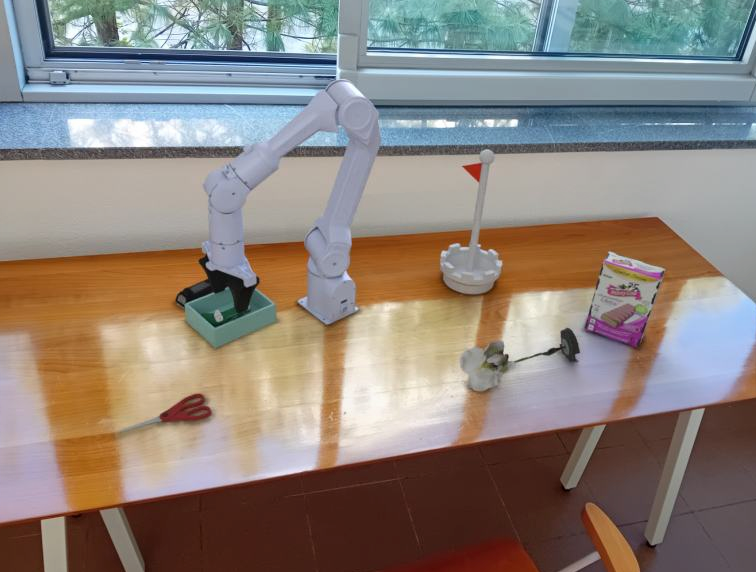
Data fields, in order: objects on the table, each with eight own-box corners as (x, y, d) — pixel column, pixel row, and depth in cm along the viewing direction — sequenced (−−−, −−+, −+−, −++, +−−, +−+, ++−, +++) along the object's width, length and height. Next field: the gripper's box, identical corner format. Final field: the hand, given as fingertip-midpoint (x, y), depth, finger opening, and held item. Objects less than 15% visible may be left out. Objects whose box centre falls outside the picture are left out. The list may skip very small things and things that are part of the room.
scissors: (213, 416, 116) (212, 411, 115) (121, 446, 109) (120, 442, 108) (201, 395, 119) (201, 390, 119) (112, 423, 112) (111, 418, 112)
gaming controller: (203, 335, 134) (214, 329, 130) (194, 317, 134) (205, 309, 130) (246, 317, 140) (258, 310, 136) (238, 299, 140) (250, 291, 136)
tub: (276, 321, 138) (276, 304, 136) (215, 348, 130) (213, 330, 128) (246, 297, 144) (245, 280, 142) (186, 321, 135) (184, 303, 133)
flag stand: (509, 277, 159) (533, 150, 143) (480, 304, 149) (502, 170, 133) (457, 256, 164) (475, 131, 148) (426, 281, 155) (441, 149, 139)
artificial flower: (582, 378, 134) (595, 348, 127) (467, 405, 129) (473, 375, 122) (563, 339, 140) (574, 308, 132) (451, 364, 135) (457, 333, 127)
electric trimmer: (250, 280, 149) (250, 267, 147) (186, 310, 138) (185, 296, 136) (238, 272, 151) (238, 259, 149) (174, 302, 140) (172, 288, 138)
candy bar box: (583, 331, 145) (601, 261, 136) (589, 318, 149) (607, 249, 140) (639, 350, 141) (661, 279, 133) (644, 336, 145) (666, 267, 137)
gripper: (184, 226, 129) (190, 290, 136) (229, 262, 120) (233, 328, 128) (219, 215, 133) (223, 277, 140) (265, 249, 125) (267, 313, 132)
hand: (230, 300), depth 134 cm, fingers open, 7 cm apart
